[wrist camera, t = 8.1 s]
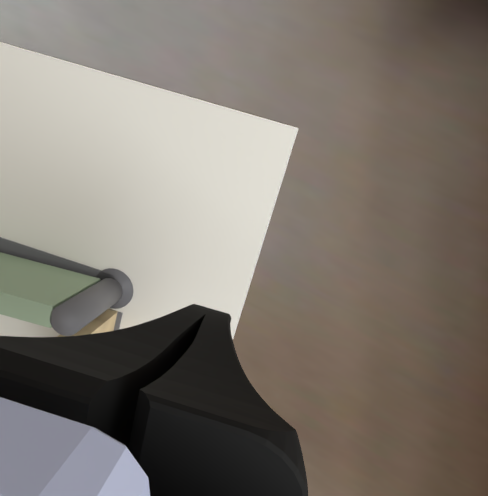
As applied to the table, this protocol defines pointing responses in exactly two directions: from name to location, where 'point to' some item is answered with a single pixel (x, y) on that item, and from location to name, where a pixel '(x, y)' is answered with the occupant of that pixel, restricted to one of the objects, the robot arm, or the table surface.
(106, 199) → the card
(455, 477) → the table surface
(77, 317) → the hinged fence section
